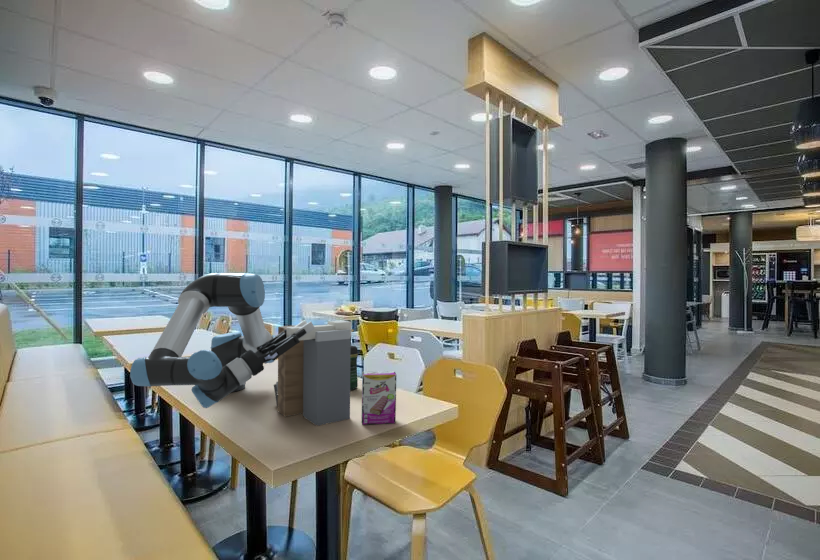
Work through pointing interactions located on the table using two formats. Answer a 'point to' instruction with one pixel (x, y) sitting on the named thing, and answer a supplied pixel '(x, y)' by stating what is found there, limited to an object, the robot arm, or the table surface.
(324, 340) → the socket block
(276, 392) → the electrical switch
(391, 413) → the candy bar box
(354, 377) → the coffee jar
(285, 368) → the tall wooden block stack
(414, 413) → the table surface
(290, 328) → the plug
